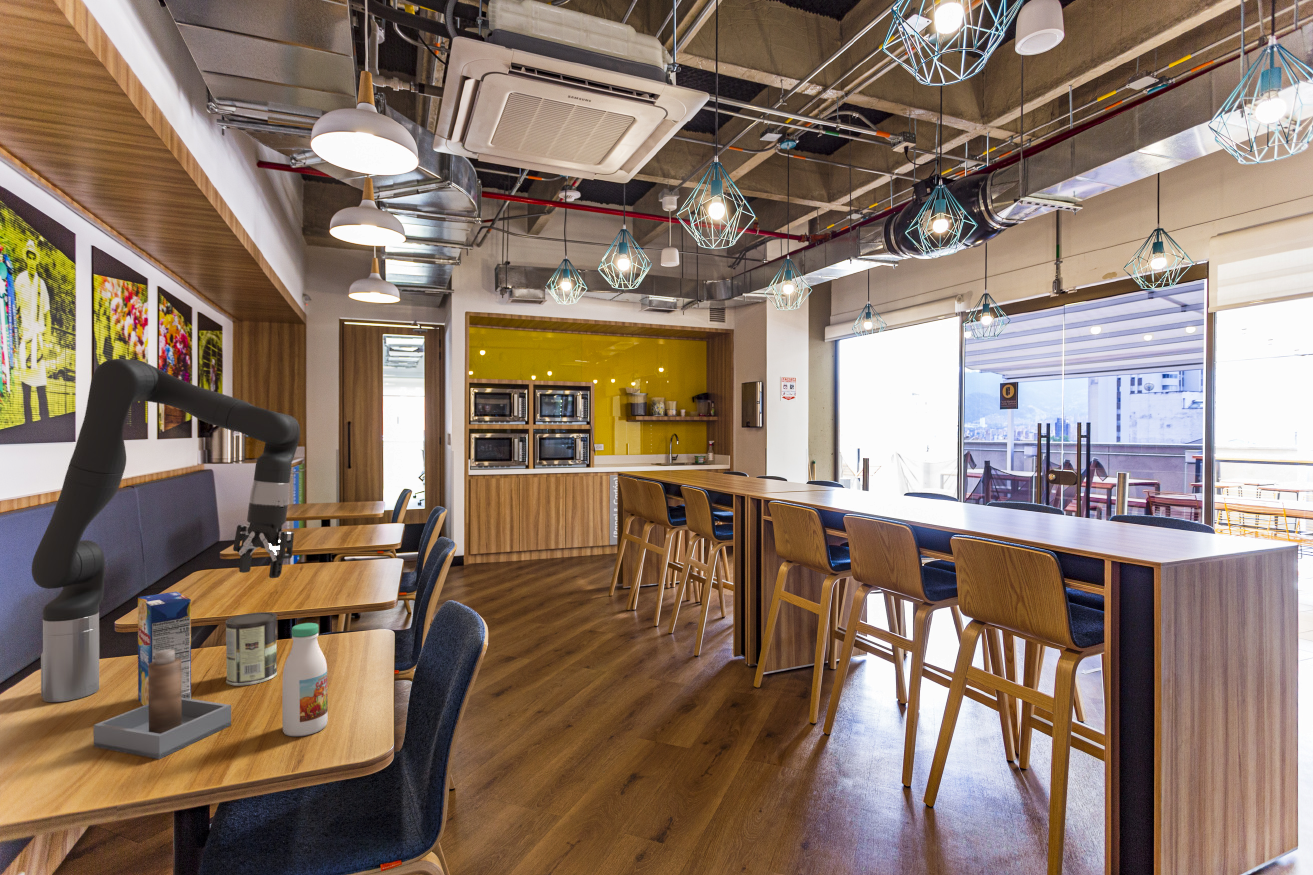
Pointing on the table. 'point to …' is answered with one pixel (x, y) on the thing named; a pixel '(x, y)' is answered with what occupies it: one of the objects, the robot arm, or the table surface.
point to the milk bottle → (305, 684)
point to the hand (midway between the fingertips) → (259, 574)
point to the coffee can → (251, 648)
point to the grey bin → (136, 739)
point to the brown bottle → (164, 692)
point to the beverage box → (164, 636)
